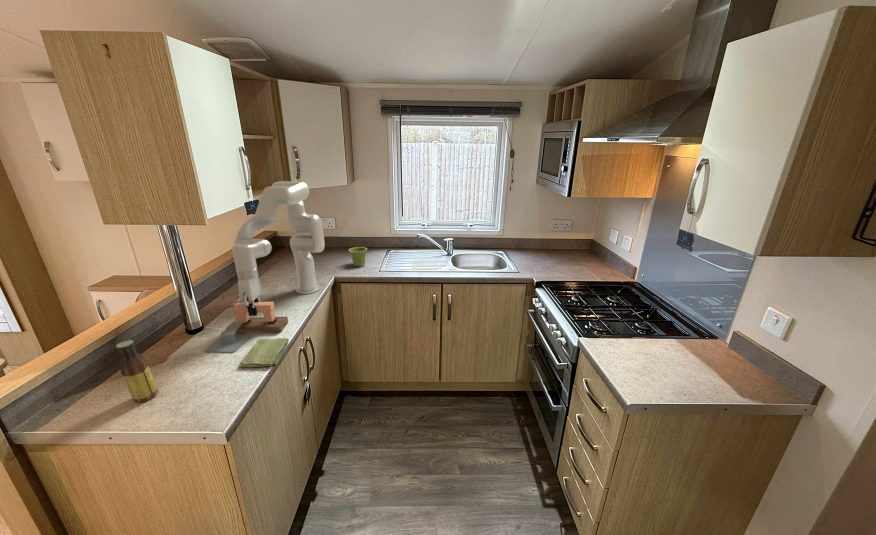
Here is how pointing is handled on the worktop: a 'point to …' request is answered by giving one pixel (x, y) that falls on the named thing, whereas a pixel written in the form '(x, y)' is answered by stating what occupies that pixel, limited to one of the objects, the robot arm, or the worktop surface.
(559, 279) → the worktop surface
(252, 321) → the slotted rail
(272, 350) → the washcloth
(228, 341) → the shower valve
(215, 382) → the worktop surface
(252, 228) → the robot arm
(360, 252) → the plant pot
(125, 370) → the sauce bottle
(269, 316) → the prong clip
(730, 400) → the worktop surface
